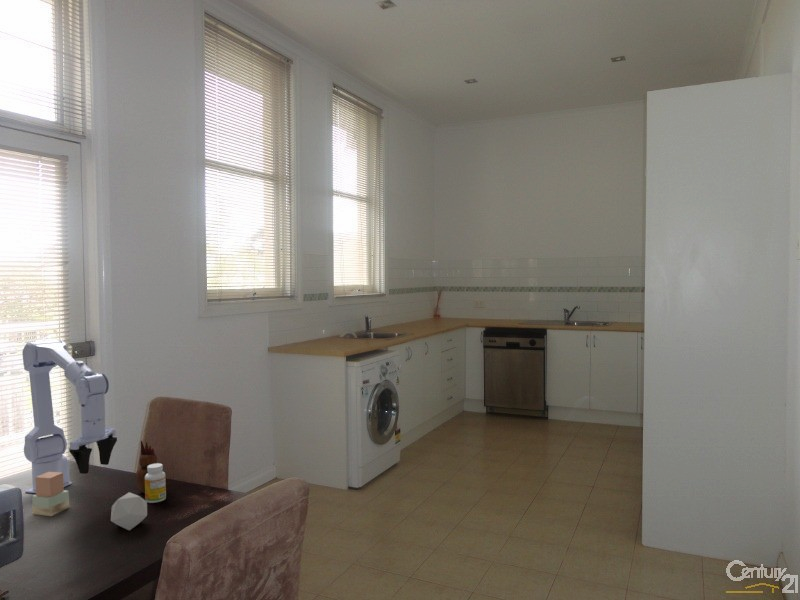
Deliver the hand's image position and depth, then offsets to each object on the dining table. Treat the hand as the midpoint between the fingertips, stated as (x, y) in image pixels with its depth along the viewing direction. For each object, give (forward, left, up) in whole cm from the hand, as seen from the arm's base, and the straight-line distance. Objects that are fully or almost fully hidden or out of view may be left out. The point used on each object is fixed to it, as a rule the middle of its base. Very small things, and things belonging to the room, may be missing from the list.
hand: (94, 468), depth 161 cm
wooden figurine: (-13, +7, -11) cm, 18 cm away
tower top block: (+5, -10, -8) cm, 14 cm away
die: (+9, +18, -11) cm, 23 cm away
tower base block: (+5, -10, -11) cm, 15 cm away
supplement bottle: (-8, +13, -11) cm, 19 cm away
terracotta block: (+5, -10, -6) cm, 12 cm away
